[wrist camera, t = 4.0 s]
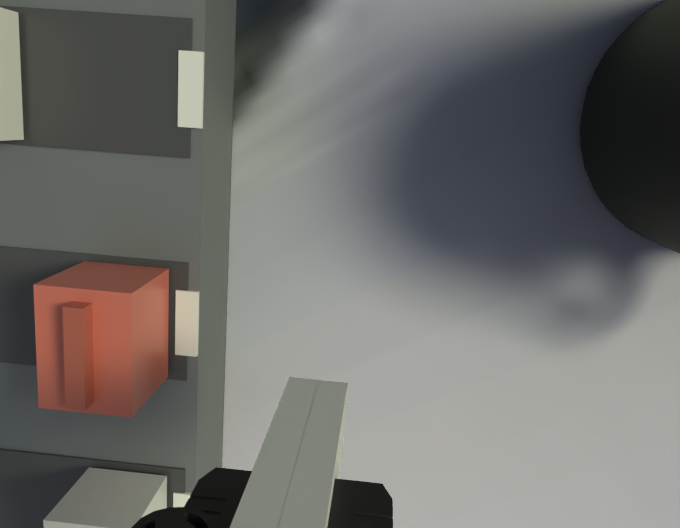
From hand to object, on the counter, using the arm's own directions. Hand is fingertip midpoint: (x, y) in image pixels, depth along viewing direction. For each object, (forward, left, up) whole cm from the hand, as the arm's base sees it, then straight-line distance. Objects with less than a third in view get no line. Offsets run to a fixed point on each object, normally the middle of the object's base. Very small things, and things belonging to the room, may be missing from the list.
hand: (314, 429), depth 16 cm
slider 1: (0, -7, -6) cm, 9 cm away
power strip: (-3, -11, -10) cm, 15 cm away
